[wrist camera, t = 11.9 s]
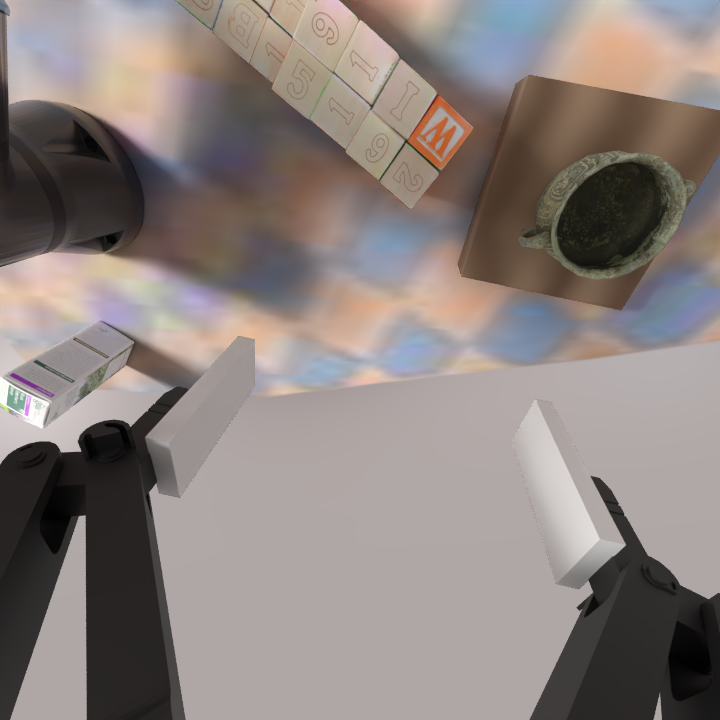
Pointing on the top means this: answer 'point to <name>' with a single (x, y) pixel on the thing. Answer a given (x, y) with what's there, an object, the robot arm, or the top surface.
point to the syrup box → (64, 374)
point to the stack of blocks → (344, 85)
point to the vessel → (609, 213)
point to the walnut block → (557, 152)
